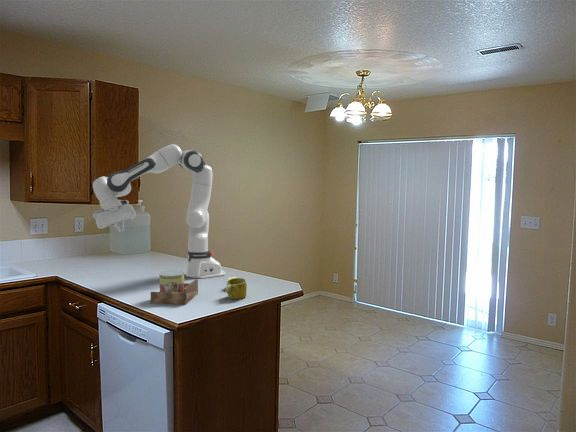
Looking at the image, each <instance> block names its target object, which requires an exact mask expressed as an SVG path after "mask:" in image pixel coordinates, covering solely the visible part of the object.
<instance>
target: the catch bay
mask: <svg viewBox="0 0 576 432" xmlns="http://www.w3.org/2000/svg"><path fill="white" fill-rule="evenodd" d="M198 279H199V278H197V279H196V278H194V280H192V281H191V282H189V283H186V282H184V289H183V293H177V292H160V291H150V304H155V305H156V304H157V305H159V304H160V305H161V304H163V305H187V304H188V303H190V301H192V300H193V299H194V298H195V297H196V296H197V295H198V294H199V280H198Z"/></svg>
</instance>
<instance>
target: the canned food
mask: <svg viewBox="0 0 576 432" xmlns="http://www.w3.org/2000/svg"><path fill="white" fill-rule="evenodd" d="M158 274H159V292H177V293H183V289H184V283H185V271H183V270H165V271H162V272H160V273H158Z"/></svg>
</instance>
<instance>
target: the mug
mask: <svg viewBox="0 0 576 432" xmlns="http://www.w3.org/2000/svg"><path fill="white" fill-rule="evenodd" d="M247 287H248V285H247V279H245V278H242V277H237V278H233V279H230V280H228V279H227V281H226V287H225V292H226V293H227V297H228V299H229V300H240V299H245V298H246V296H247V289H248V288H247Z"/></svg>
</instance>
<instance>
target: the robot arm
mask: <svg viewBox="0 0 576 432" xmlns="http://www.w3.org/2000/svg"><path fill="white" fill-rule="evenodd" d="M175 165H179V166H180V167H181V168H182V169H184V170H186V171H191V172H192V175H193V176H192V183H191V191H190V197H189V202H188V206H187V210H186V216H185V223H186V224H187V226H189V230H188V231H189V232H188V238H187V239H188V240H187V243H188V245H187V246H188V248H187V249H188V251H187V269H186V273H185V276H186V277H187V278H188V277H189V278H194V279H196V278H197V279H207V278H214V277H221V276H226V271H225V270H222V266H221V263H220V262H219V261H218V260H216V259H215V258H213V257H212V256H214V254H215V253H214V252H213V251H210V250H209V228H210V227H209V226H210V214H209V211H208V208H209V205H210V201H211V194H212V189H213V188H212V187H213V177H214V176H213V169H212V167H211V166H209V165H207V164H206V163H205V160H204V157H203V155H202V154H201V152H199V151H197V150H194V149H193V150H192V149H188V150H182V149H181V148H180V146H178V144H175V143H171V144H169V145H166V146H164V147H162V148H159V150H157V151H154V152H153V153H152V154H150V155H149V156H148V157H145V158H144V159H142V160H140V161H138V162H137V163H135V164H133V165H131V166H130V167H128V168H126V169H124V170H119V171H114V172H112V173H110V174H109V175H108V176H104V175H103V176H100V177H99V176H98V178H96V179H95V180H94V181H93V182H92V189H93V192H94V194H95V197H96V198H97V200H98V201H99V205H100V207H101V209H98V210H95V211H93V213H92V217H93V220H95V224H96V226H97V228H98V229H100V230H101V229H104V228H108V227H112V226H113V228H115V229H116V230H118V233H120V232H123V231H125V230H126V228H125V222H127V221H130V220H133V219H135V218H136V217H137V213H136V211H135V209H134V207H133V206H132V205H131V204H130V202H129V200H127V199H118V198H120V197H125V196H127V195H129V194H130V193H131V191H132V185H131V182H132V181H134V180H136V179H137V178H139V177H141V176H143V175H145V174H147V173H152V174H158V175H159V174H160V173H164V172H165V171H167V170H169V169H170V168H172V167H173V166H175ZM118 224H120V225H121V227H120V226H118Z"/></svg>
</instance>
